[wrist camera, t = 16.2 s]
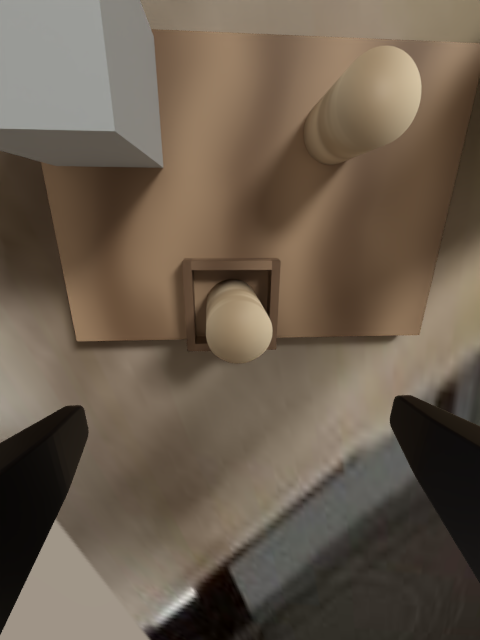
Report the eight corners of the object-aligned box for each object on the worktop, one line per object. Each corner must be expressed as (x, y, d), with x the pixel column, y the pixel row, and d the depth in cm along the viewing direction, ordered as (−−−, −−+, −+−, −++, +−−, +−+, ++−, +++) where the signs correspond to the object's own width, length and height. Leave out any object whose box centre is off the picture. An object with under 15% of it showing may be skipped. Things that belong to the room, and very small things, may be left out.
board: (464, 57, 16) (508, 29, 14) (405, 330, 22) (429, 346, 19) (32, 41, 15) (-6, 6, 12) (87, 336, 21) (68, 353, 18)
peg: (366, 97, 15) (430, 47, 11) (357, 165, 17) (411, 147, 12) (306, 95, 15) (344, 43, 11) (301, 164, 16) (333, 145, 12)
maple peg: (259, 280, 18) (276, 303, 14) (254, 328, 20) (268, 364, 15) (207, 277, 18) (207, 299, 13) (205, 326, 19) (204, 362, 14)
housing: (153, 36, 14) (81, -153, 7) (163, 167, 16) (115, 131, 9) (31, 31, 14) (-184, -173, 6) (56, 166, 16) (-88, 126, 8)
